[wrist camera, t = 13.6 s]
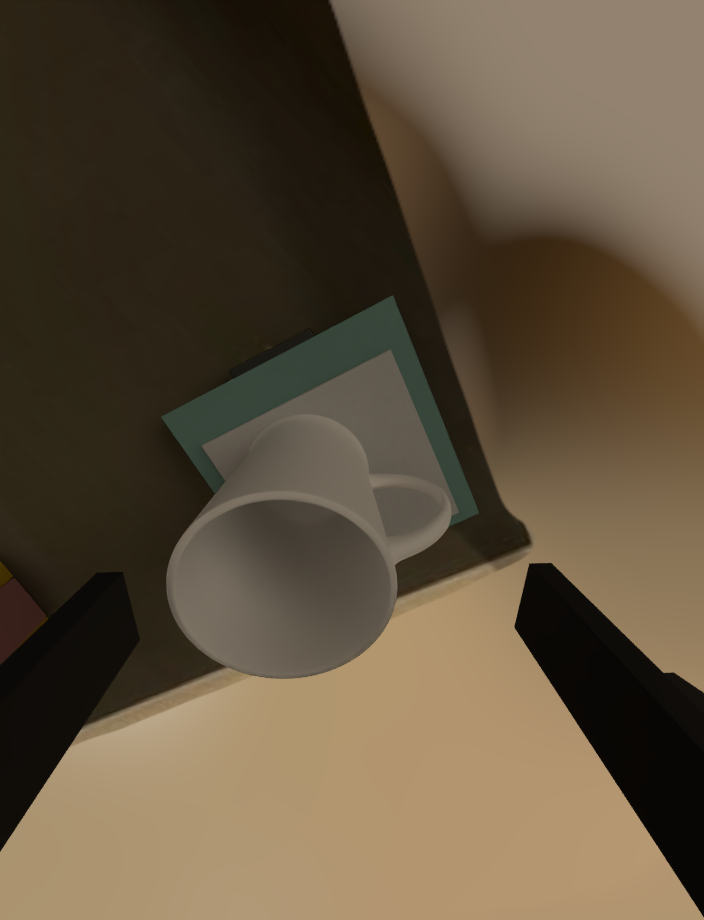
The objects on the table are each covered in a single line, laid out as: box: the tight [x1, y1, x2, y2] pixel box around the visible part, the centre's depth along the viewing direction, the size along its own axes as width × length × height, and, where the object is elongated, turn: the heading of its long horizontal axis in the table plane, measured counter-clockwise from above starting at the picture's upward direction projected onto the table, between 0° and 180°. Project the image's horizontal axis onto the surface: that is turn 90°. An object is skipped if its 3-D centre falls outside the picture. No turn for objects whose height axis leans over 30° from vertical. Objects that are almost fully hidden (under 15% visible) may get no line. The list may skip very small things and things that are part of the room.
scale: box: [161, 296, 479, 537], centre depth 24 cm, size 17×18×3 cm
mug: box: [166, 414, 451, 679], centre depth 17 cm, size 12×8×12 cm
